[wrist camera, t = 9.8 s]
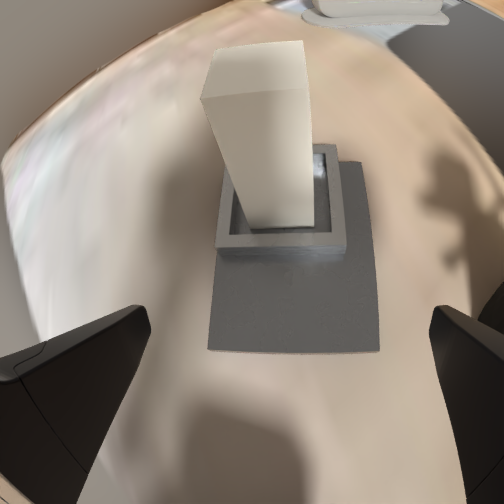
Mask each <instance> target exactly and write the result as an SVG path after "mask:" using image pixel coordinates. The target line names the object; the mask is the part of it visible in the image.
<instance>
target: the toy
mask: <svg viewBox="0 0 504 504" xmlns="http://www.w3.org/2000/svg"><path fill="white" fill-rule="evenodd" d="M478 321H479V322H481V323H483V324H484V325H486V326H488V327H490V328H492V329H494V330H496V331H497V332H499V333H501V334H503V335H504V282H503V283H502V284H501V285H500V287H499V288H498V289H497V290H496V292H495V293H494V294H493V296H492V297H491V298H490V300H489V301H488V303H487V304H486V305H485V307H484V308H483V310H482V312H481V314H480V316H479V318H478Z"/></svg>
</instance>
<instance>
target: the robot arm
mask: <svg viewBox="0 0 504 504" xmlns="http://www.w3.org/2000/svg"><path fill="white" fill-rule="evenodd" d="M150 334H151V326H150V322H149V319H148V315H147V311H146V308H145V307H144V306H142V305H131V306H128V307H126V308H124V309H121V310H119V311H116V312H114V313H112V314H109V315H107V316H104V317H102V318H100V319H97V320H95V321H92V322H90V323H88V324H85V325H83V326H80V327H78V328H76V329H73V330H71V331H68V332H66V333H64V334H61V335H59V336H56V337H54V338H51V339H49V340H48V341H44V342H42V343H39V344H37V345H34V346H32V347H29V348H27V349H24V350H21V351H19V352H16V353H13V354H10V355H7V356H4V357H1V358H0V504H76V503H77V501H78V498H79V496H80V493H81V491H82V489H83V486H84V484H85V481H86V479H87V477H88V474H89V472H90V470H91V467H92V465H93V463H94V461H95V458H96V456H97V454H98V452H99V449H100V447H101V445H102V443H103V441H104V438H105V436H106V434H107V432H108V430H109V428H110V425H111V423H112V421H113V419H114V417H115V415H116V413H117V410H118V408H119V406H120V404H121V402H122V400H123V398H124V396H125V394H126V392H127V390H128V388H129V386H130V384H131V382H132V379H133V377H134V375H135V373H136V371H137V369H138V366H139V364H140V361H141V358H142V355H143V353H144V350H145V347H146V345H147V342H148V339H149V337H150ZM429 338H430V342H431V347H432V351H433V356H434V361H435V366H436V371H437V375H438V379H439V383H440V386H441V389H442V393H443V396H444V399H445V403H446V407H447V410H448V414H449V418H450V421H451V425H452V429H453V433H454V438H455V442H456V446H457V451H458V455H459V460H460V465H461V470H462V476H463V482H464V488H465V494H466V498H467V499H466V502H467V504H504V335H503V334H501V333H499V332H497V331H496V330H494V329H492V328H490V327H488V326H486V325H484V324H483V323H481V322H479V321H477V320H475V319H473V318H471V317H469V316H468V315H466V314H464V313H462V312H460V311H458V310H456V309H454V308H452V307H450V306H448V305H440V306H436V307H435V308H434V311H433V315H432V320H431V324H430V328H429Z"/></svg>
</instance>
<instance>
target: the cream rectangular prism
mask: <svg viewBox="0 0 504 504" xmlns="http://www.w3.org/2000/svg"><path fill="white" fill-rule="evenodd" d="M200 100H201V102H202V105H203V107H204V110H205V113H206V115H207V118H208V120H209V123H210V125H211V128H212V131H213V133H214V136H215V138H216V141H217V144H218V146H219V149H220V151H221V154H222V157H223V159H224V162H225V164H226V167H227V170H228V172H229V175H230V177H231V180H232V183H233V185H234V188H235V190H236V193H237V196H238V198H239V201H240V203H241V206H242V209H243V211H244V214H245V217H246V219H247V222H248V224H249V227H250V229H266V228H307V227H314V182H313V150H312V128H311V110H310V94H309V83H308V75H307V68H306V60H305V53H304V46H303V40H300V41H283V42H270V43H260V44H251V45H242V46H235V47H228V48H222V49H216V50H215V53H214V56H213V59H212V62H211V65H210V68H209V71H208V75H207V78H206V81H205V84H204V88H203V91H202V94H201V98H200Z"/></svg>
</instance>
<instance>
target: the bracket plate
mask: <svg viewBox="0 0 504 504" xmlns="http://www.w3.org/2000/svg"><path fill="white" fill-rule="evenodd" d="M312 150H313V182H314V227H307V228H266V229H250V227H249V224H248V222H247V219H246V217H245V214H244V211H243V209H242V206H241V203H240V201H239V198H238V196H237V193H236V190H235V188H234V185H233V183H232V180H231V177H230V175H229V172H228V170H227V167H226V164H225V170H224V177H223V184H222V192H221V199H220V207H219V215H218V223H217V231H216V239H215V247H214V248H215V249H216V251H217V258H216V267H215V276H214V286H213V296H212V306H211V316H210V327H209V338H208V350H210V351H219V352H236V353H258V354H356V353H377V352H379V351H380V346H379V314H378V296H377V282H376V269H375V258H374V248H373V239H372V231H371V223H370V215H369V208H368V201H367V194H366V188H365V182H364V176H363V170H362V165H361V162H338V156H337V149H336V145H312Z"/></svg>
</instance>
